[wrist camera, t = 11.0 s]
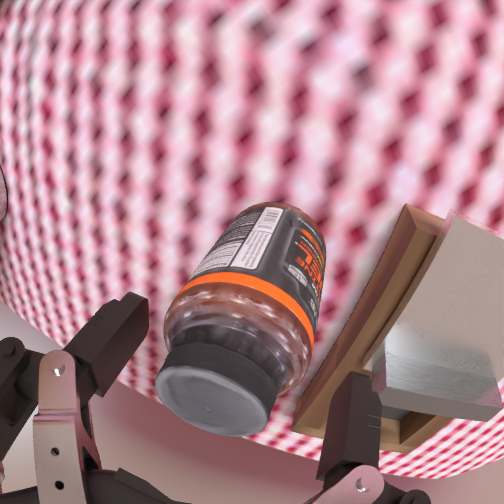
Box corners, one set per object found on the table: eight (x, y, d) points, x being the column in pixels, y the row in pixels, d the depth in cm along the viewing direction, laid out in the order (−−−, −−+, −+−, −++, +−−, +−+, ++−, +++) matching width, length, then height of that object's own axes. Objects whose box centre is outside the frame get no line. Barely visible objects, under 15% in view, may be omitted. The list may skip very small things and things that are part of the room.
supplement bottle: (341, 273, 19) (322, 451, 9) (254, 295, 21) (188, 446, 12) (304, 182, 17) (247, 338, 7) (211, 216, 19) (97, 354, 10)
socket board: (296, 403, 26) (290, 430, 24) (405, 203, 16) (416, 227, 13) (407, 428, 25) (407, 453, 23) (544, 269, 14) (563, 296, 12)
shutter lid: (363, 358, 17) (361, 402, 15) (450, 208, 12) (474, 243, 9) (482, 386, 16) (489, 423, 14) (570, 273, 11) (595, 308, 8)
